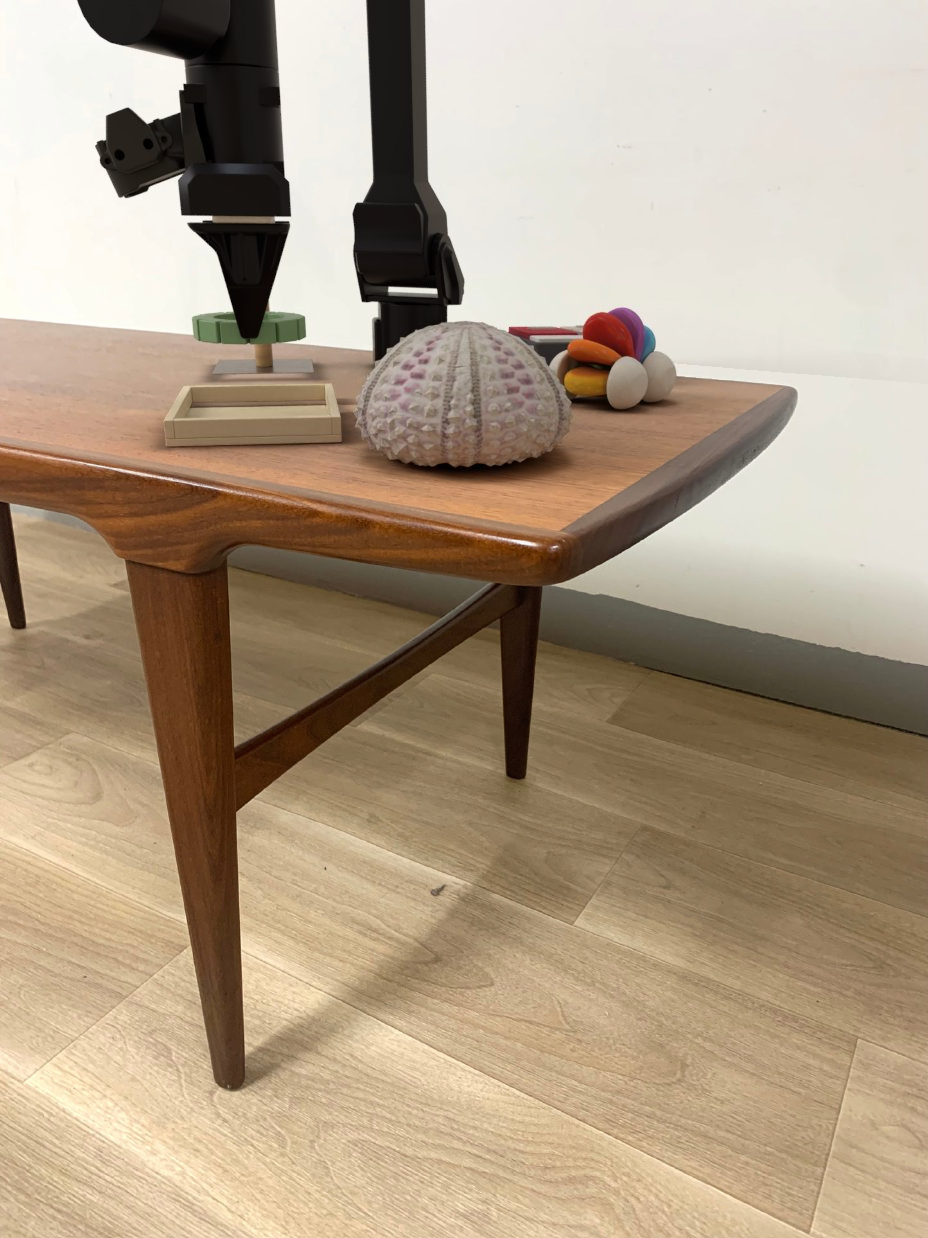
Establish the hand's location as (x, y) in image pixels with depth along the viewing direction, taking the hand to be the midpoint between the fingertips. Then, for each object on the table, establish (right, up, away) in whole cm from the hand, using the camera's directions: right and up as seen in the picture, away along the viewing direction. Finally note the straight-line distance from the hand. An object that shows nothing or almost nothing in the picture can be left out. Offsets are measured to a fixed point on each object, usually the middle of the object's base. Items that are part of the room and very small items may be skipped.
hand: (251, 331), depth 65 cm
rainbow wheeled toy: (+27, -2, +12) cm, 29 cm away
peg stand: (-4, +3, +24) cm, 25 cm away
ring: (0, 0, 0) cm, 0 cm away
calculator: (+25, +4, +26) cm, 36 cm away
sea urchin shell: (+15, -10, -5) cm, 18 cm away
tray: (0, -6, +2) cm, 6 cm away
